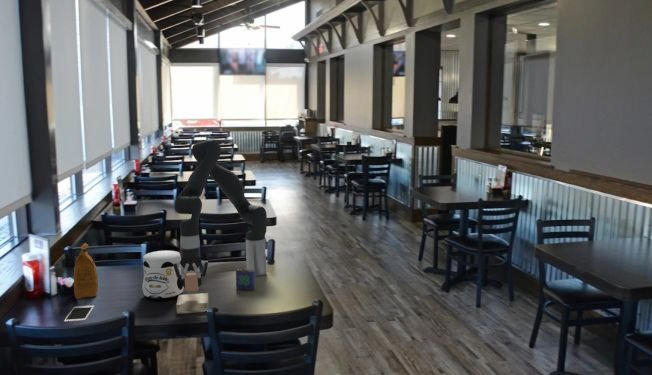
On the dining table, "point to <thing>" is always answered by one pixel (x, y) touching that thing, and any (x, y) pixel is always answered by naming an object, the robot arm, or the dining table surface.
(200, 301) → the maple base
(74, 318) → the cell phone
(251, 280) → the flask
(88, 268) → the coffee package
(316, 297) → the dining table surface
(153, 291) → the milk container
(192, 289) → the terracotta block
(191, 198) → the robot arm
